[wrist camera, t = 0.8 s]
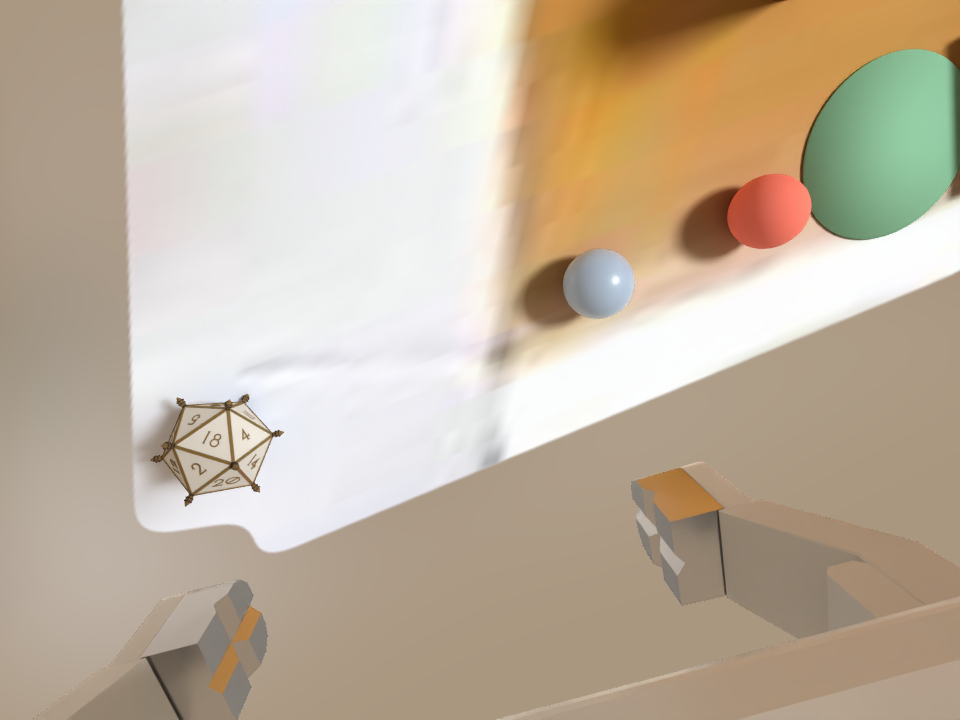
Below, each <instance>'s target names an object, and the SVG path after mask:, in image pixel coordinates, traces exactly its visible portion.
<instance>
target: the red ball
mask: <svg viewBox="0 0 960 720" xmlns="http://www.w3.org/2000/svg"><path fill="white" fill-rule="evenodd" d="M810 213H811V198H810V195H809V192H808V190H807V189H806V187H805V186H804V185H803V184H802V183H801V182H800V181H798V180H797V179H795V178H793V177H791V176H787V175H783V174H770V175H765V176H761V177H758V178H756V179H754V180H752V181H750V182H748V183H747V184H746V185H744V186H743V187H742V188H741V189H740V190H739V191H738V192H737V193H736V195H735V196H734V197H733V199H732V201H731V203H730V206H729V209H728V214H727V221H728V226H729V229H730V231H731V233H732V235H733V236H734V237H735V238H736V239H737V240H738V241H739V242H741V243H742V244H744V245H746V246H749V247H752V248H757V249H767V248H774V247H777V246H780V245H783V244H785V243H787V242H788V241H790V240H792V239H793V238H794V237H795V236H797V235H798V234H799V233H800V232H801V231H802V229H803V228H804V227H805V225H806V223H807V221H808V219H809V217H810Z"/></svg>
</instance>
